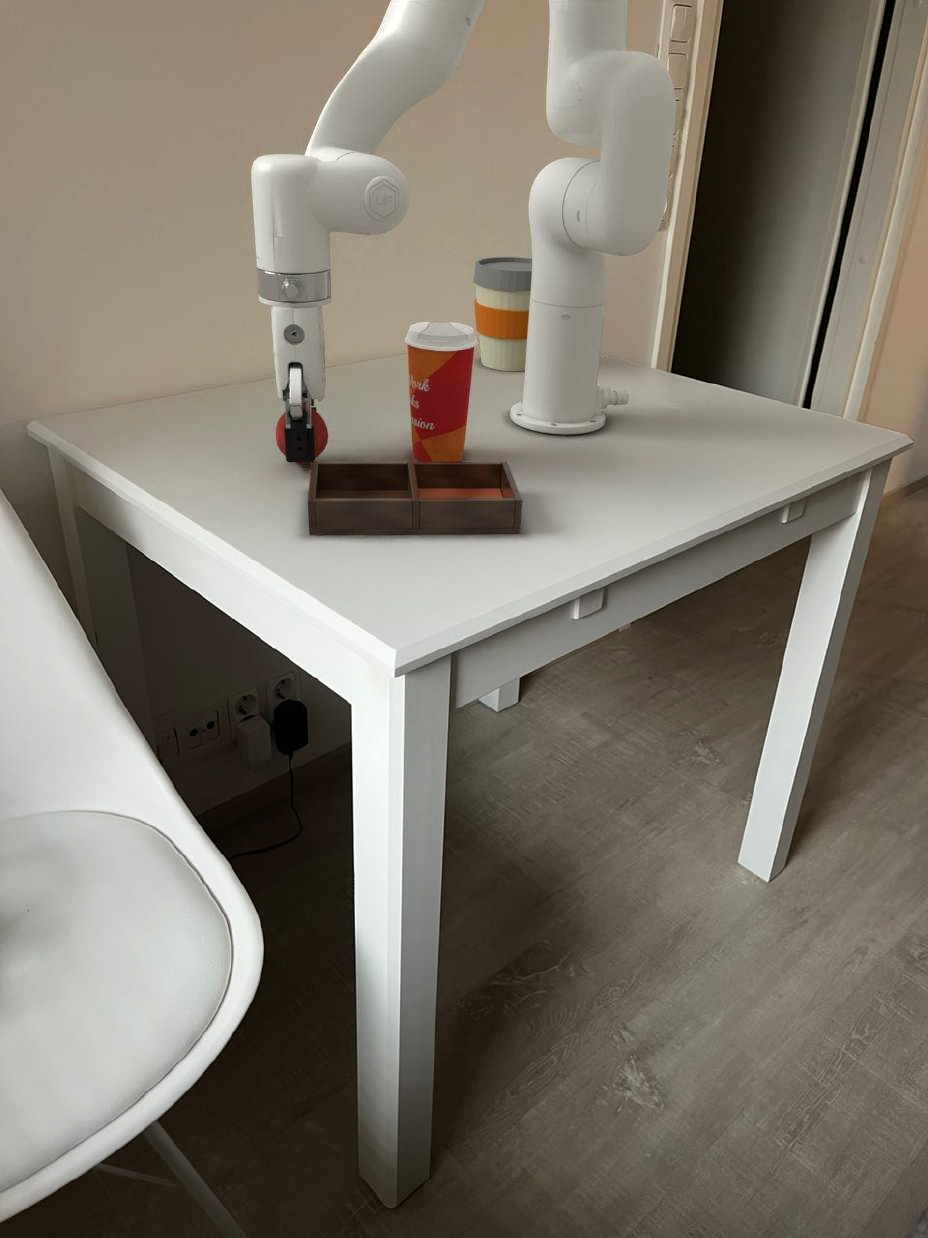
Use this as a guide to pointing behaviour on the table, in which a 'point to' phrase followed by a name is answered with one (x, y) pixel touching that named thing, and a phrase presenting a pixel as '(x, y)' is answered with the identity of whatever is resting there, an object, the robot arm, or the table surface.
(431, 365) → the coffee cup
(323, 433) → the red round fruit
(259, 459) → the table surface
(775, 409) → the table surface
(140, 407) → the table surface
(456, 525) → the organizer
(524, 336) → the reusable coffee cup
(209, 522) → the table surface
